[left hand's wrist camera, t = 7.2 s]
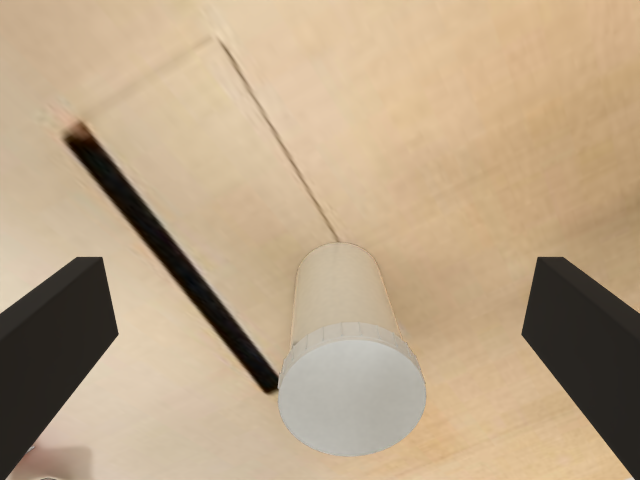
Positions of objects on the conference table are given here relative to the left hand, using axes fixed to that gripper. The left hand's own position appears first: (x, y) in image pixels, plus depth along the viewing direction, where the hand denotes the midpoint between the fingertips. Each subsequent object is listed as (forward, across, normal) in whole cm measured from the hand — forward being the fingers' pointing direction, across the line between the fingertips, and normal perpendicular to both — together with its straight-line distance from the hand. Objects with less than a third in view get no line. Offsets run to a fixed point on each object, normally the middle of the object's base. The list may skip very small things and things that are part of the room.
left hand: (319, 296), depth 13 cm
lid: (+9, +2, -12) cm, 15 cm away
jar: (+25, +2, -12) cm, 27 cm away
